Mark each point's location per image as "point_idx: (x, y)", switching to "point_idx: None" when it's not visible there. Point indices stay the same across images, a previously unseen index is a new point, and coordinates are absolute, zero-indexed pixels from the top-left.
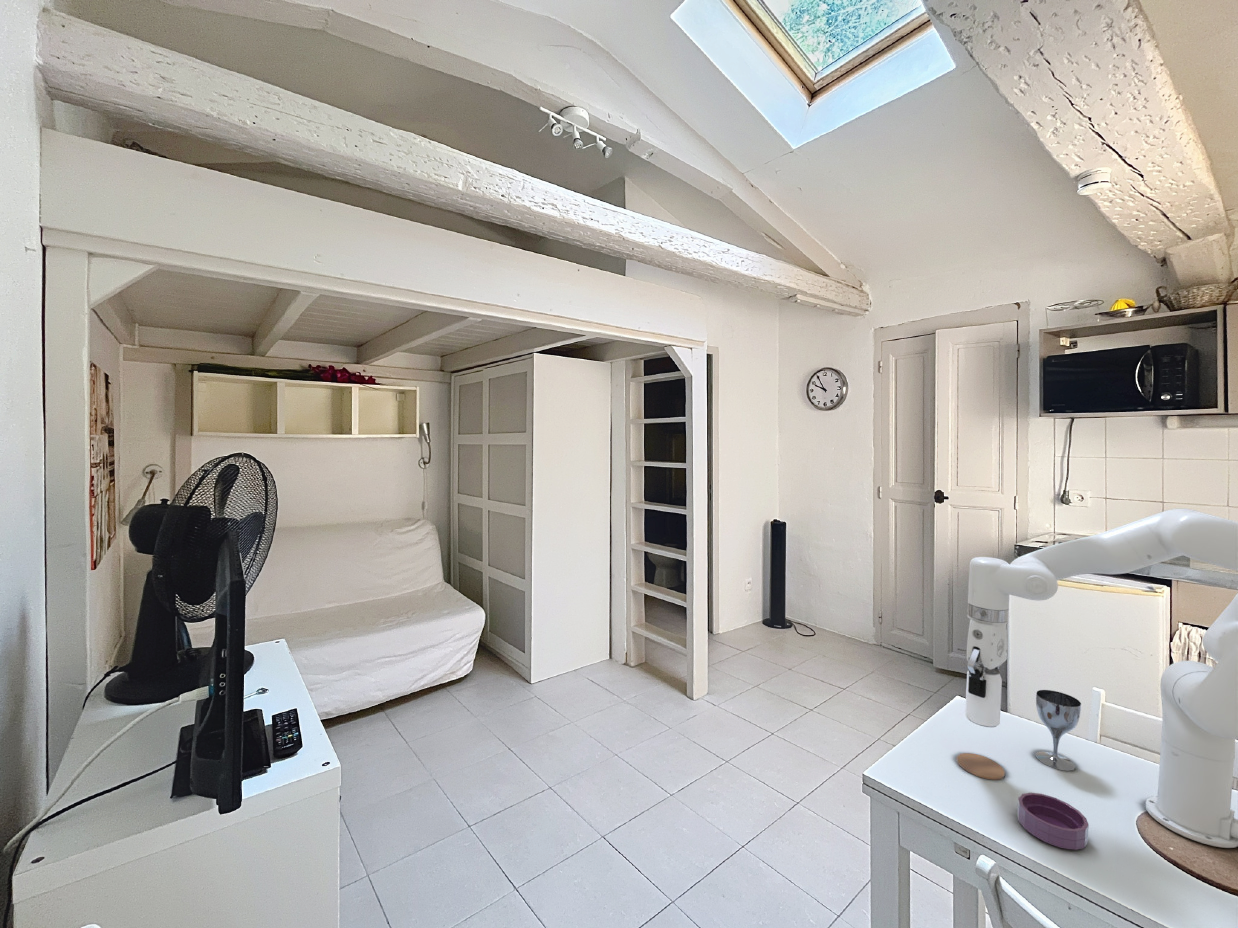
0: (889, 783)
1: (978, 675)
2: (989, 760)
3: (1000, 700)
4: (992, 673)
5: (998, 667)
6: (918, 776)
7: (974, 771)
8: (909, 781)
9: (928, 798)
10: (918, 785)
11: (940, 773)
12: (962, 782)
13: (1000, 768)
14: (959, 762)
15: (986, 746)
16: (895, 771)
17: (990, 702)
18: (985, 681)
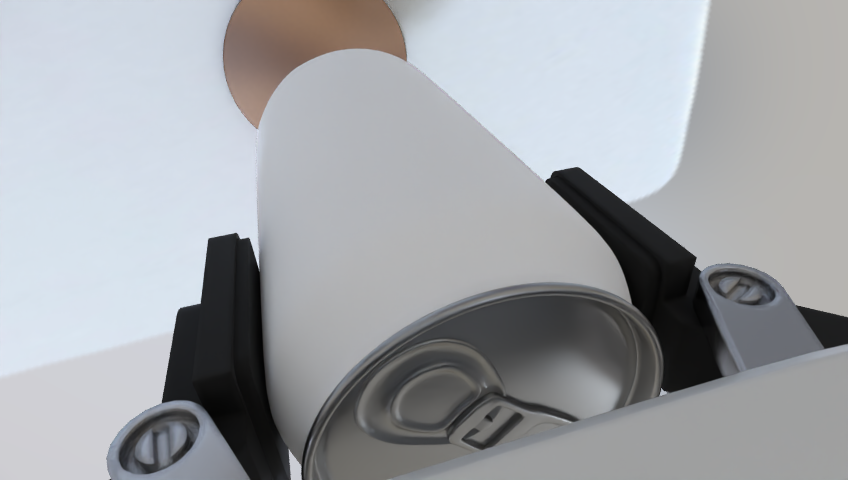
0: (673, 150)
1: (827, 322)
2: (241, 67)
3: (370, 106)
4: (509, 337)
5: (197, 449)
6: (577, 135)
7: (391, 53)
8: (623, 130)
9: (668, 47)
10: (624, 105)
11: (502, 112)
12: (491, 40)
13: (256, 4)
14: None
15: (118, 144)
16: (604, 181)
17: (486, 129)
18: (681, 252)
